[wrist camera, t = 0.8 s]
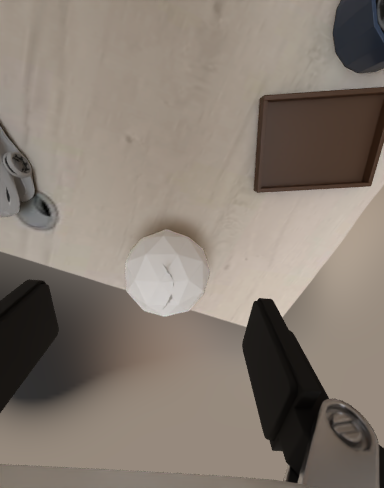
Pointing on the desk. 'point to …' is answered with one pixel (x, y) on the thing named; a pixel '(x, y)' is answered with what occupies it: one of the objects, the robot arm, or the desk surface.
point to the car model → (13, 177)
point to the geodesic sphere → (166, 273)
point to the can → (359, 36)
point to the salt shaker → (380, 13)
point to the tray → (319, 139)
